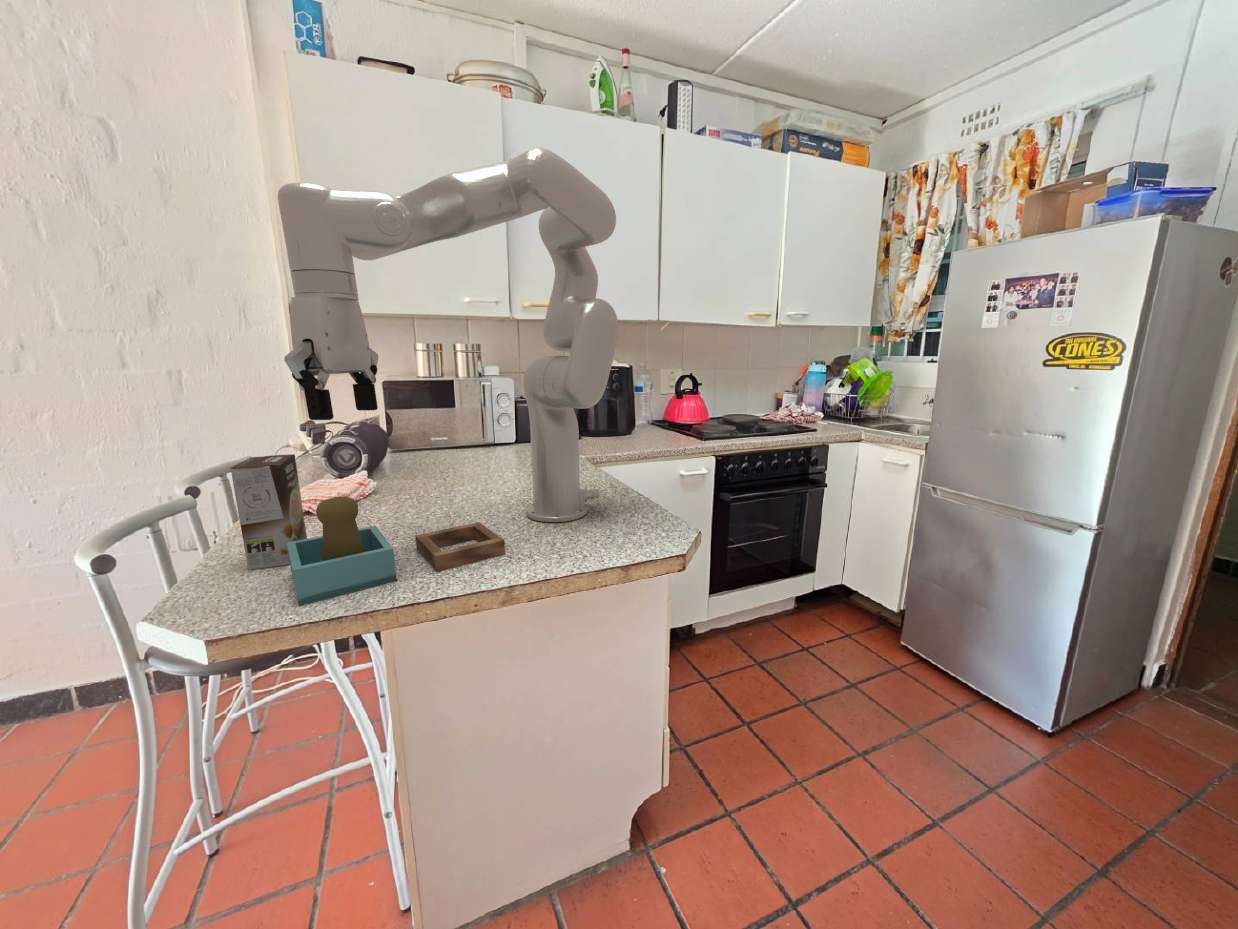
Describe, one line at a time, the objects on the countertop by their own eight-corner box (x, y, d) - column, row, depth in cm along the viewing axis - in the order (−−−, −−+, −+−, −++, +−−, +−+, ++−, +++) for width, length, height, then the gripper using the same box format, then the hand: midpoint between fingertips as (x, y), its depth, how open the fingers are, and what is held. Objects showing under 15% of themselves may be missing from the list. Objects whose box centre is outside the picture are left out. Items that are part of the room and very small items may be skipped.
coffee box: (296, 564, 76) (280, 464, 73) (247, 571, 74) (228, 468, 70) (309, 544, 84) (295, 453, 81) (265, 549, 82) (249, 456, 79)
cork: (372, 572, 71) (363, 500, 68) (324, 583, 67) (313, 507, 65) (365, 559, 75) (356, 490, 73) (319, 569, 72) (309, 497, 70)
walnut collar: (479, 535, 88) (478, 522, 88) (505, 554, 80) (504, 540, 79) (416, 549, 82) (415, 535, 81) (436, 572, 73) (435, 556, 73)
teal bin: (379, 554, 80) (375, 525, 79) (396, 580, 70) (393, 548, 69) (291, 574, 73) (286, 542, 72) (298, 606, 63) (292, 570, 62)
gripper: (343, 295, 75) (360, 407, 79) (246, 282, 58) (273, 424, 62) (389, 293, 74) (403, 406, 78) (303, 279, 57) (327, 424, 61)
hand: (345, 414), depth 70 cm, fingers open, 9 cm apart
